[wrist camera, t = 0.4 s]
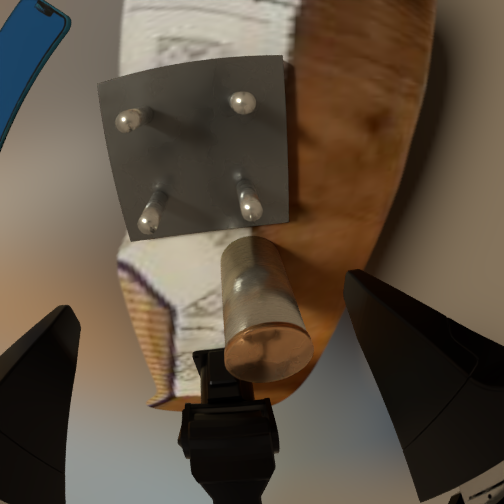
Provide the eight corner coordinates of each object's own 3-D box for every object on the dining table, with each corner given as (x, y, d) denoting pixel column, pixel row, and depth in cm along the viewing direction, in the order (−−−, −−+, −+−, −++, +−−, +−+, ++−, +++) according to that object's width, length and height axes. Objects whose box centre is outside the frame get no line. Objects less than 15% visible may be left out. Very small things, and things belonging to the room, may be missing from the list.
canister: (281, 282, 25) (309, 374, 17) (223, 289, 25) (230, 386, 17) (280, 231, 23) (317, 322, 14) (215, 239, 22) (218, 336, 14)
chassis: (285, 215, 22) (303, 250, 17) (134, 234, 21) (116, 272, 17) (278, 57, 15) (300, 46, 11) (103, 83, 15) (69, 84, 10)
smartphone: (-46, 136, 12) (26, -10, 7) (-41, 133, 13) (32, -8, 8) (-11, 176, 16) (72, 20, 11) (-5, 172, 16) (78, 22, 12)
